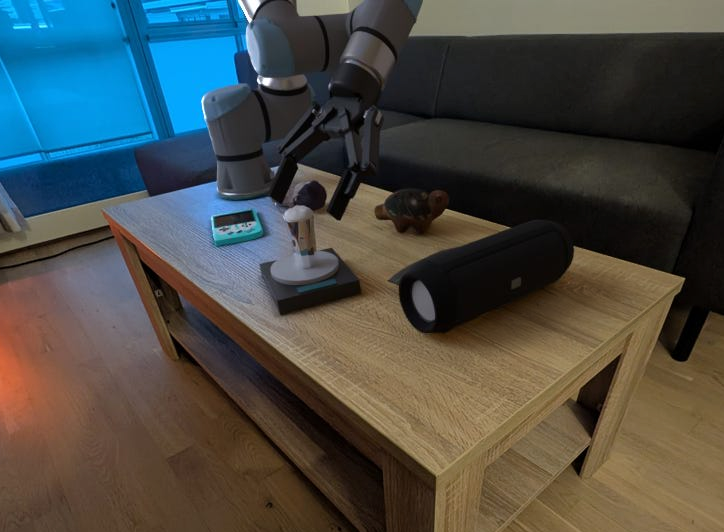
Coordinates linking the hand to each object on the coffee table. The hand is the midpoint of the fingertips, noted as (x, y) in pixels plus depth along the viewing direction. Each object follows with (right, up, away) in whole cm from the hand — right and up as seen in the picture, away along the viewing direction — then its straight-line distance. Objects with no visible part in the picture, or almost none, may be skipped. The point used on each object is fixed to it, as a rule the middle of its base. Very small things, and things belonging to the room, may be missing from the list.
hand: (302, 207), depth 68 cm
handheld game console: (-19, +5, +28) cm, 34 cm away
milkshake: (0, -8, +4) cm, 9 cm away
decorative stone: (+21, -11, +4) cm, 24 cm away
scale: (0, -11, +6) cm, 12 cm away
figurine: (-7, +11, +35) cm, 38 cm away
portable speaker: (+27, -15, -3) cm, 32 cm away
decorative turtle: (+18, +3, +22) cm, 29 cm away
